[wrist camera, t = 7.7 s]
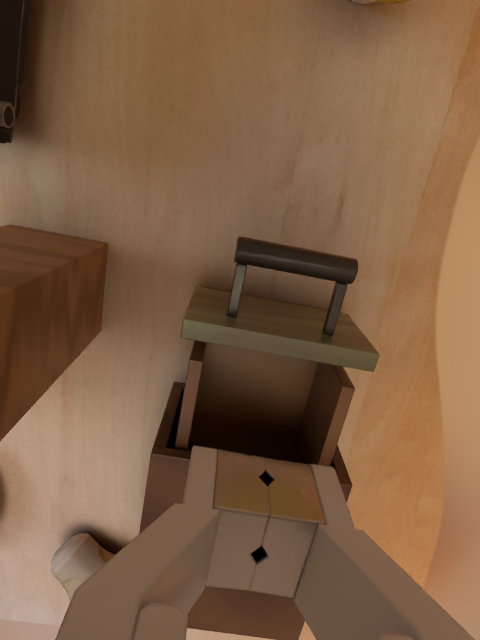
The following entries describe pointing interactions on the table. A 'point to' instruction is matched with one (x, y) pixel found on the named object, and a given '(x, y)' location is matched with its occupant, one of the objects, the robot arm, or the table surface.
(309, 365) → the drawer
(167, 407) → the cabinet
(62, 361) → the stand
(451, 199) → the table surface
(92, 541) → the mug
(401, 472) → the table surface
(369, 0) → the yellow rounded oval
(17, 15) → the camera
